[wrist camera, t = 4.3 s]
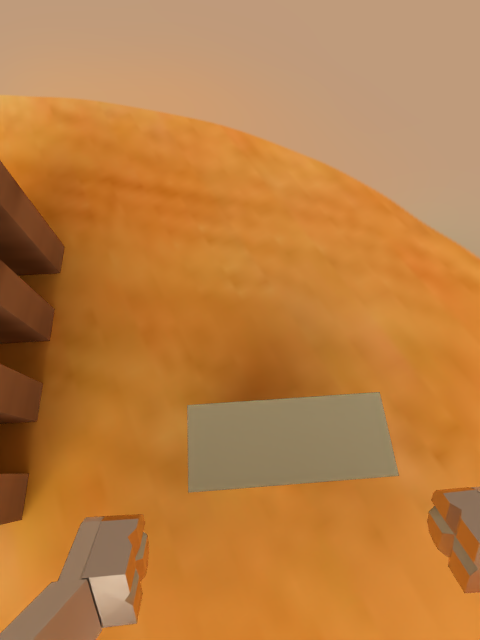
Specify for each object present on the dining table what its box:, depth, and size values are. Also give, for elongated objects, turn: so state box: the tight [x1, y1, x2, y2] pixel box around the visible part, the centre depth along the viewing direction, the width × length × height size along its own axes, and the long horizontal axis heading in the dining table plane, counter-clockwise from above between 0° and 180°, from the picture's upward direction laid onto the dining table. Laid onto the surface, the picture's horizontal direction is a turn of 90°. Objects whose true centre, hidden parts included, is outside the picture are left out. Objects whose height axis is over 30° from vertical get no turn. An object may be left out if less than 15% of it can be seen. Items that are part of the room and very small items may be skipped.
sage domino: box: [187, 392, 399, 493], centre depth 13 cm, size 5×2×10 cm, turn 94°
